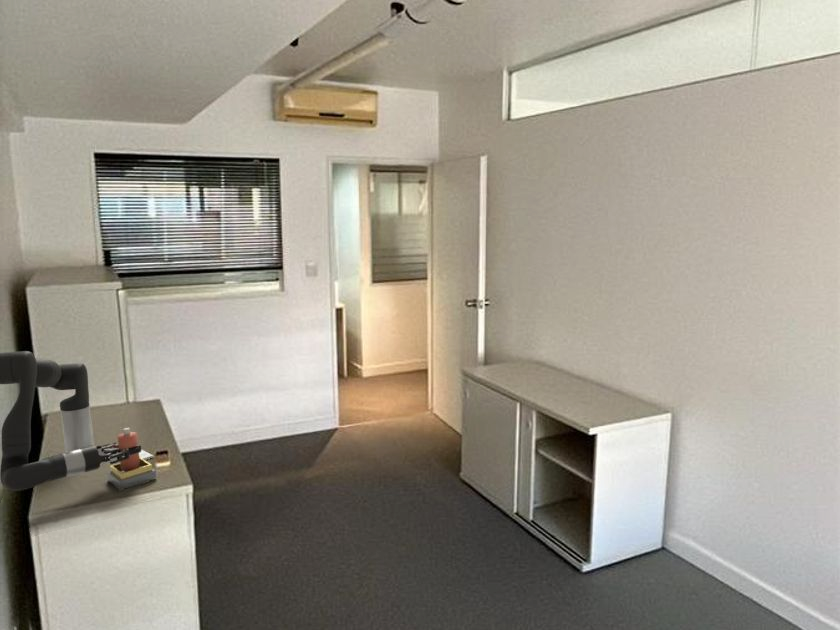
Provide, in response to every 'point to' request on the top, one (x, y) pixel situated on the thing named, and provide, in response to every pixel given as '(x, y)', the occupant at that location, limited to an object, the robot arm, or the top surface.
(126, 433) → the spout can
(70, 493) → the top surface
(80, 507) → the top surface
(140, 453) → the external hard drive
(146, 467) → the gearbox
